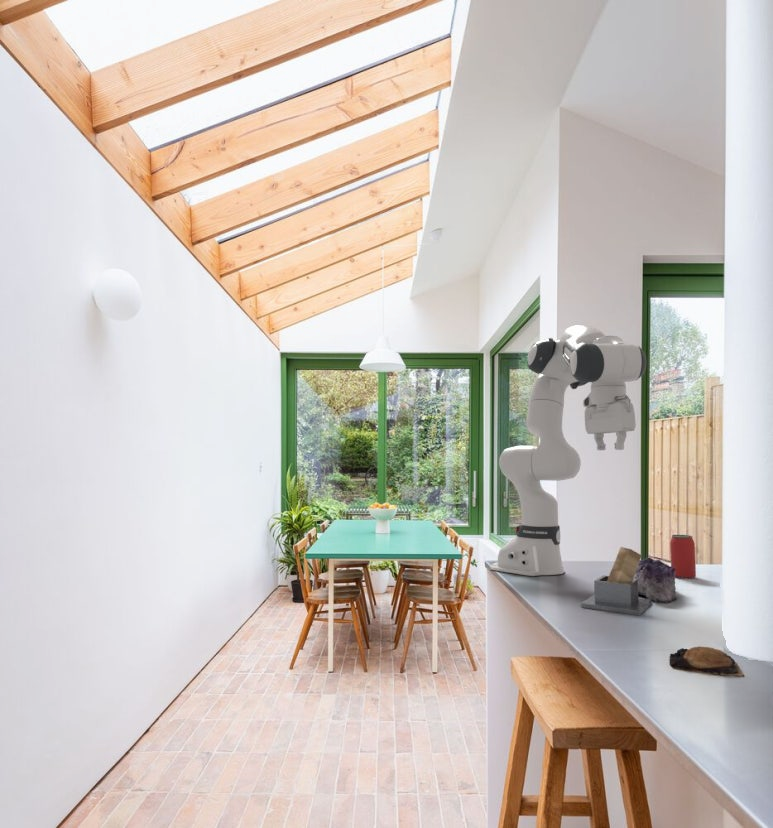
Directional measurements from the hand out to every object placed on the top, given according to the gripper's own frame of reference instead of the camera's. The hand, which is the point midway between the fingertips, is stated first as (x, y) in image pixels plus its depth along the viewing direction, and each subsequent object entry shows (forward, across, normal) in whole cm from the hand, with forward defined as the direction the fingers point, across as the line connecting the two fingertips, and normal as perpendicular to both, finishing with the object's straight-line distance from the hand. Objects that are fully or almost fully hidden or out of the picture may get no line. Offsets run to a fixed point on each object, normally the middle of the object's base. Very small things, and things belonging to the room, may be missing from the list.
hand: (610, 450), depth 160 cm
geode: (+38, -3, -10) cm, 39 cm away
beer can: (+37, +17, -31) cm, 51 cm away
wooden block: (+35, -13, +8) cm, 38 cm away
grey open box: (+37, -13, +6) cm, 40 cm away
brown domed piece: (+38, -54, +13) cm, 67 cm away
